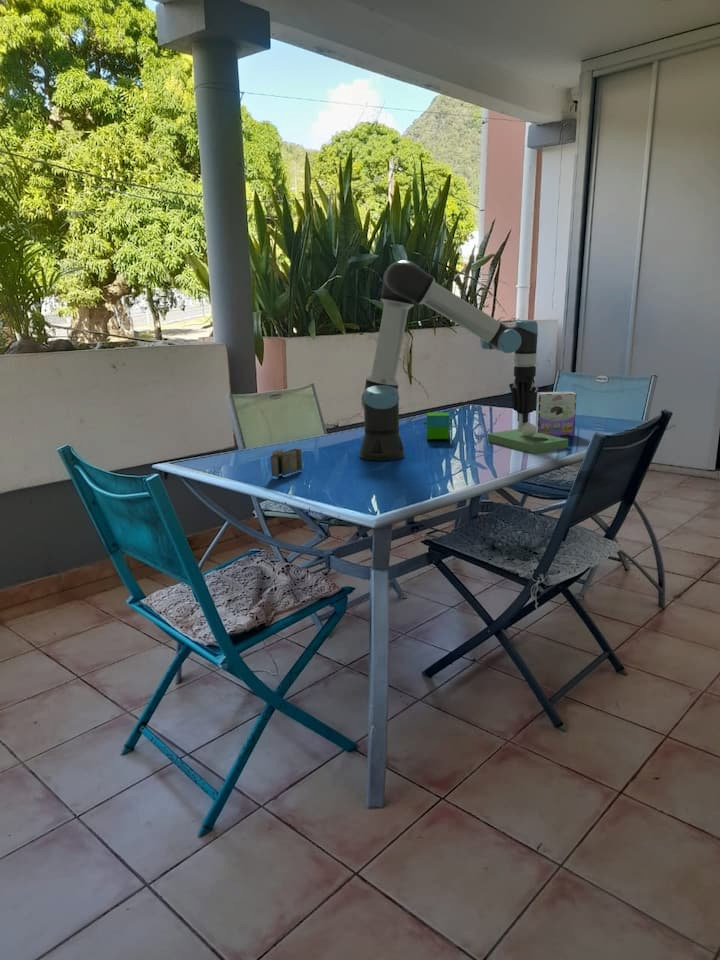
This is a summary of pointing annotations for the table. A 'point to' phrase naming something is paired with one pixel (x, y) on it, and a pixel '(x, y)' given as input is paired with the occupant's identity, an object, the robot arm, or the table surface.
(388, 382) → the robot arm
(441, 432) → the green toy van
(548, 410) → the candy box
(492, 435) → the putting mat
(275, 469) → the ruin model on sheet
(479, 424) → the table surface
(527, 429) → the ball
